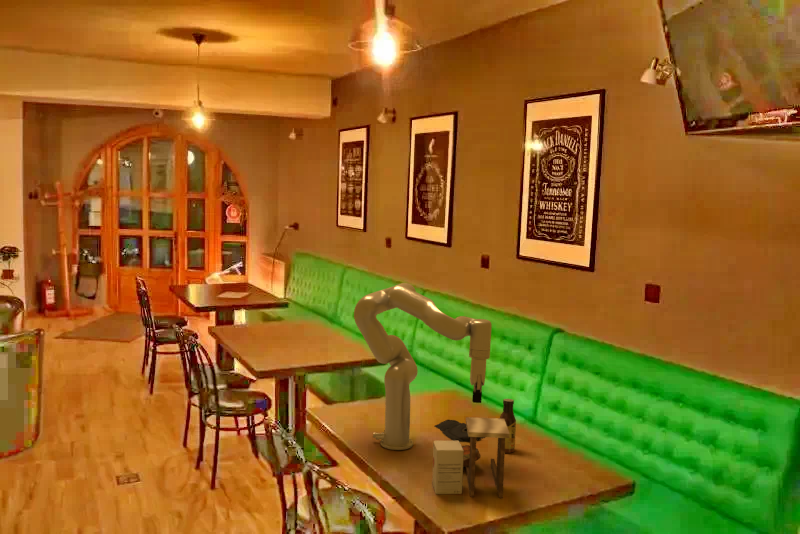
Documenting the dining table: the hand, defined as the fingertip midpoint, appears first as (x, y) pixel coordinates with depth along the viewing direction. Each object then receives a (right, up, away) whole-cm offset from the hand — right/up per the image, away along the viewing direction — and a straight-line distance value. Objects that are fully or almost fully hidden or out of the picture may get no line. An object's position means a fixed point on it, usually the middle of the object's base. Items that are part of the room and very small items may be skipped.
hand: (476, 402), depth 253 cm
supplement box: (-13, -24, -25) cm, 37 cm away
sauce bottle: (+13, -21, +10) cm, 27 cm away
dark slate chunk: (-5, -19, +28) cm, 34 cm away
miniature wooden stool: (0, -23, -18) cm, 29 cm away
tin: (-1, -17, -4) cm, 17 cm away
